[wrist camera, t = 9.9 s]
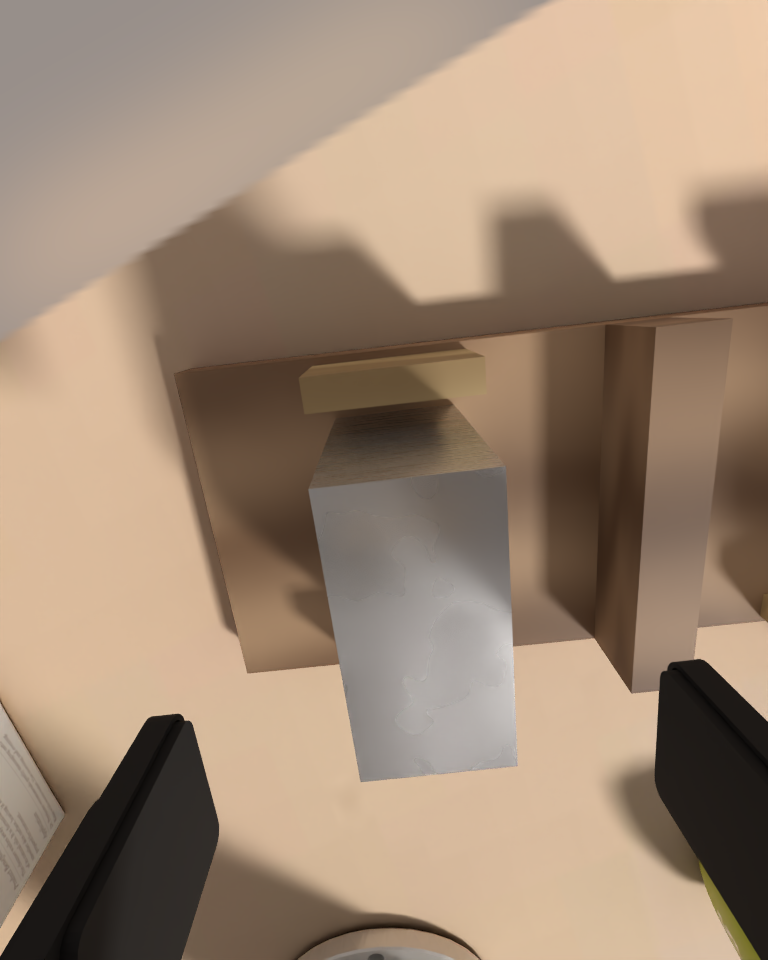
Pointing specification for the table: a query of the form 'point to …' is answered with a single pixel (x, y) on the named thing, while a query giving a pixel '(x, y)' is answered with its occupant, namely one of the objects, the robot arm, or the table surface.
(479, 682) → the grey rectangular block
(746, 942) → the dumbbell
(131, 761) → the robot arm
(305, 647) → the board
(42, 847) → the skincare box
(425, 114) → the table surface
